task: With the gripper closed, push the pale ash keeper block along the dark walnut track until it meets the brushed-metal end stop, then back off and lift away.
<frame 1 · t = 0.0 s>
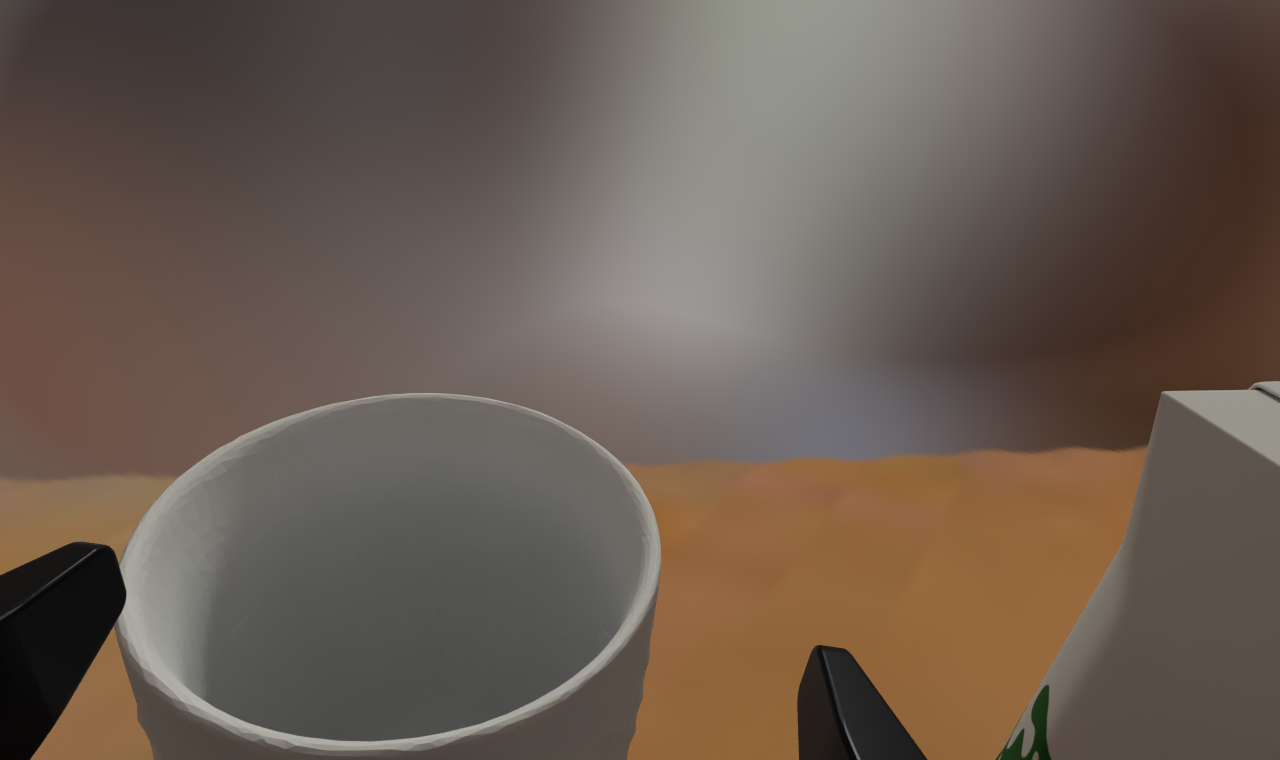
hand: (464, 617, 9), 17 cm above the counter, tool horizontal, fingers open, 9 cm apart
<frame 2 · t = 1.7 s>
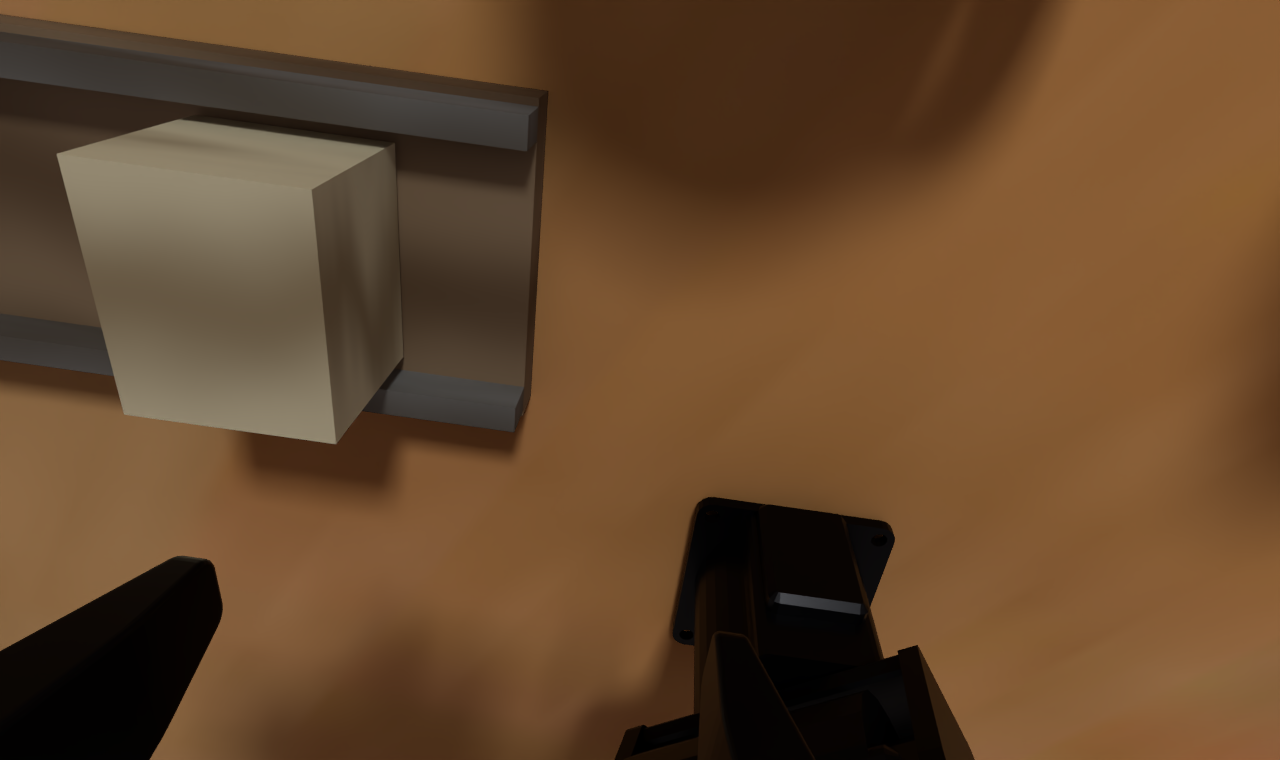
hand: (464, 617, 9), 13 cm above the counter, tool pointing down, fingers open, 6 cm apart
keeper: (263, 274, 18), point 4 cm above the counter, slide at 0.0 cm
track: (117, 200, 21), on the counter
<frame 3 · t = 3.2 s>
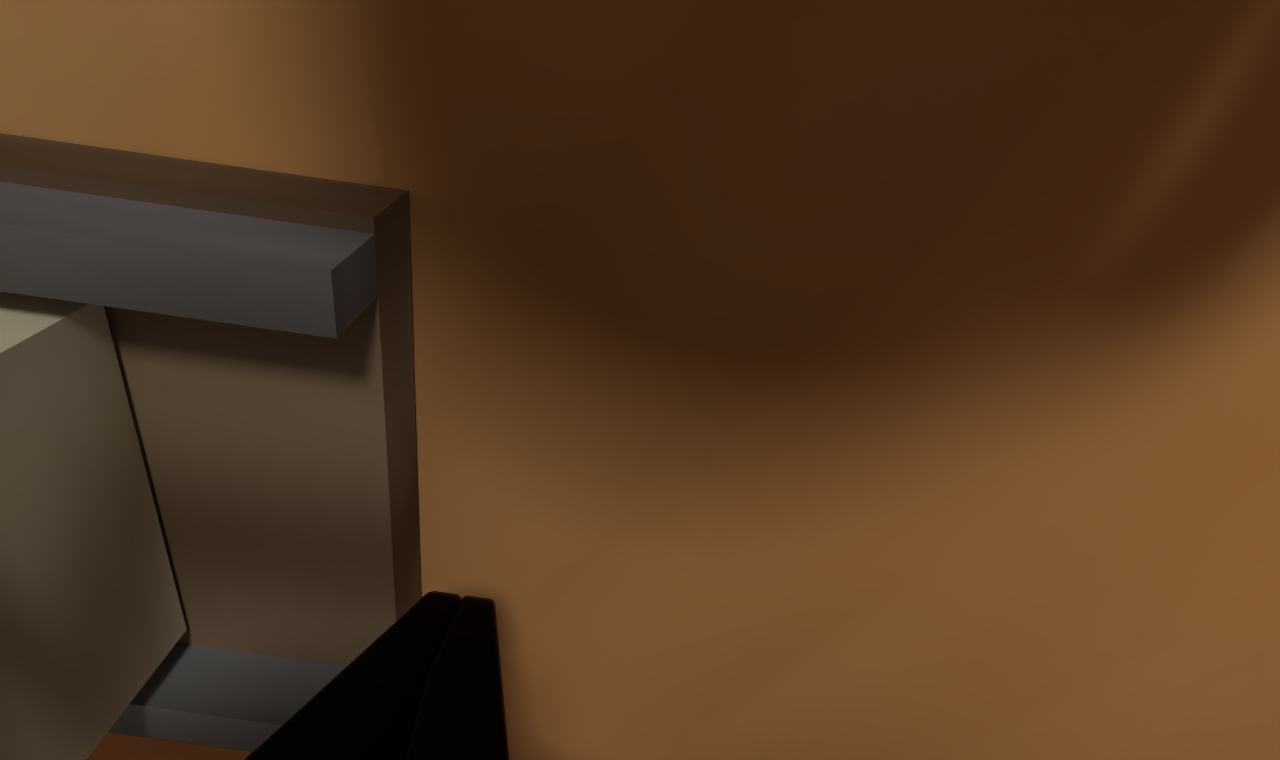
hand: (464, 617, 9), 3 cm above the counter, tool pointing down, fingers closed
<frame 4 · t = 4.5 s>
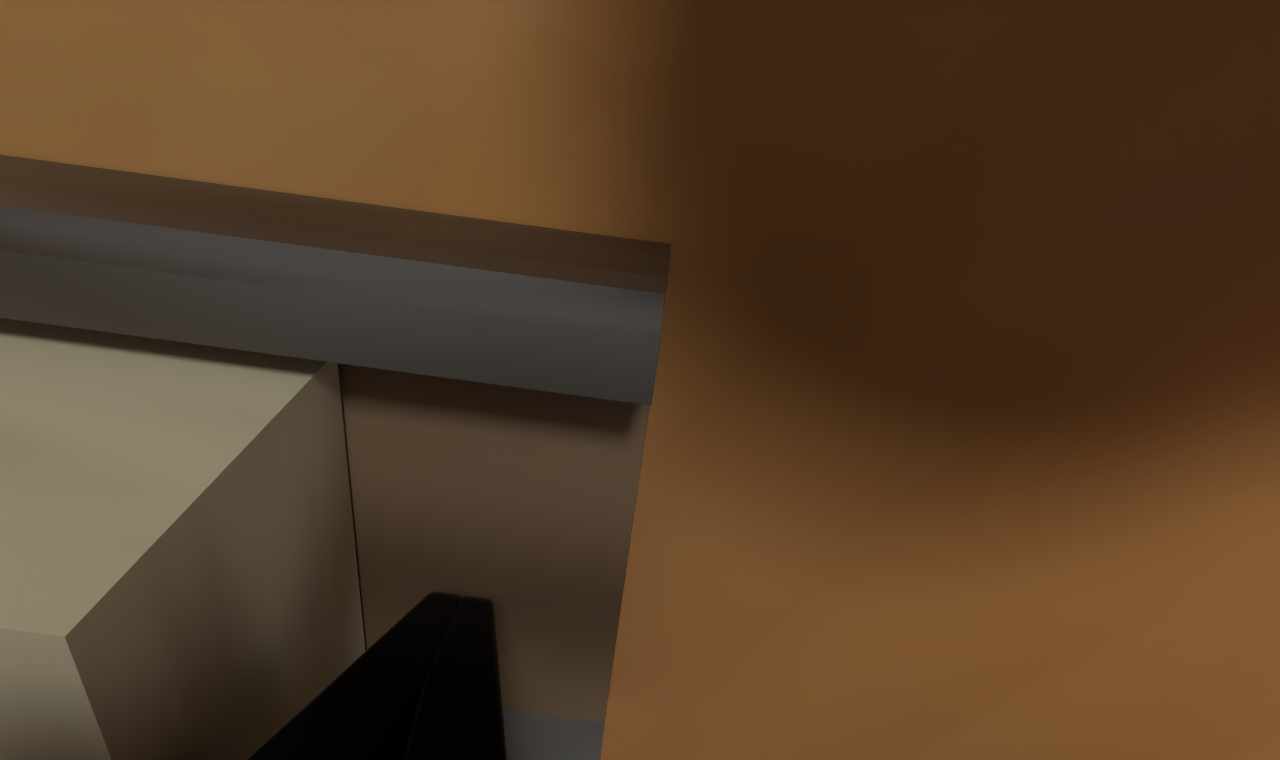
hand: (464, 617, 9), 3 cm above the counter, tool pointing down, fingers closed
keeper: (65, 635, 9), point 4 cm above the counter, slide at 0.4 cm, touching gripper
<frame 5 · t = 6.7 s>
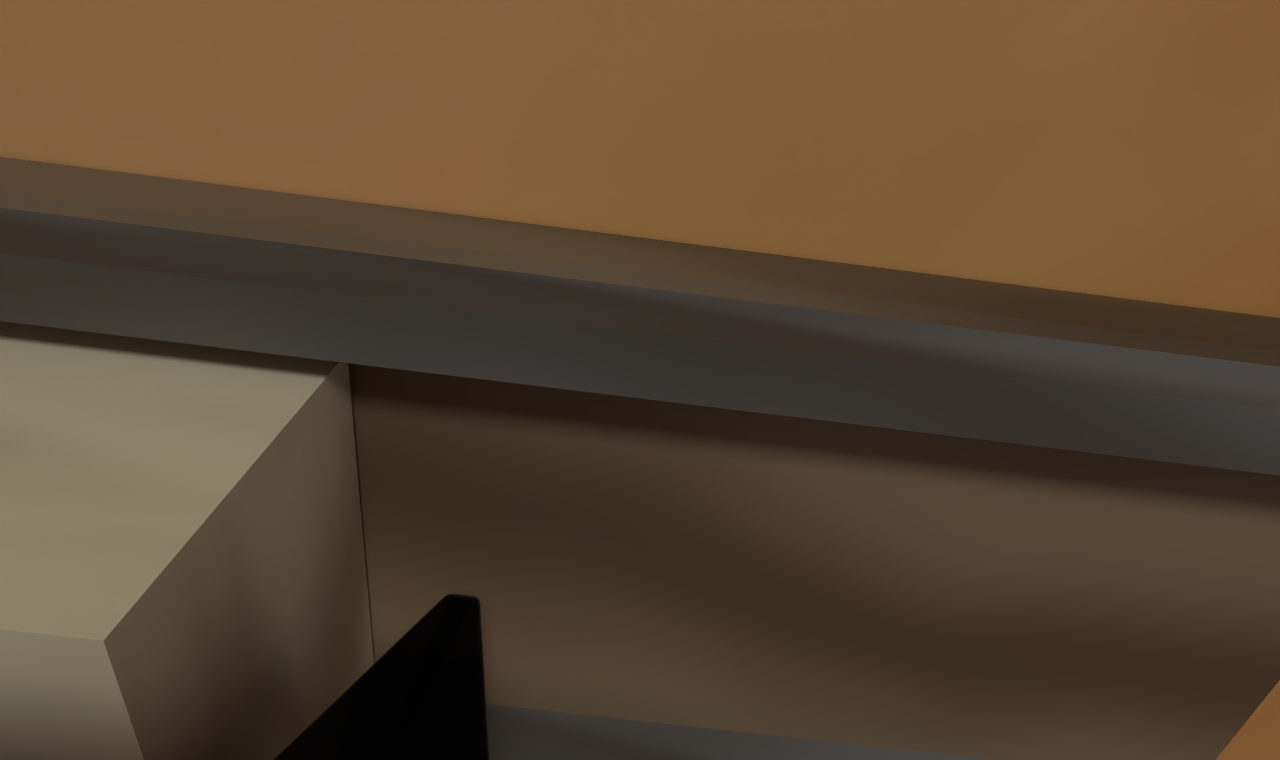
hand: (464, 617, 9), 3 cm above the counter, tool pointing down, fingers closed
keeper: (77, 642, 9), point 4 cm above the counter, slide at 10.6 cm, touching gripper, track
track: (524, 497, 12), on the counter
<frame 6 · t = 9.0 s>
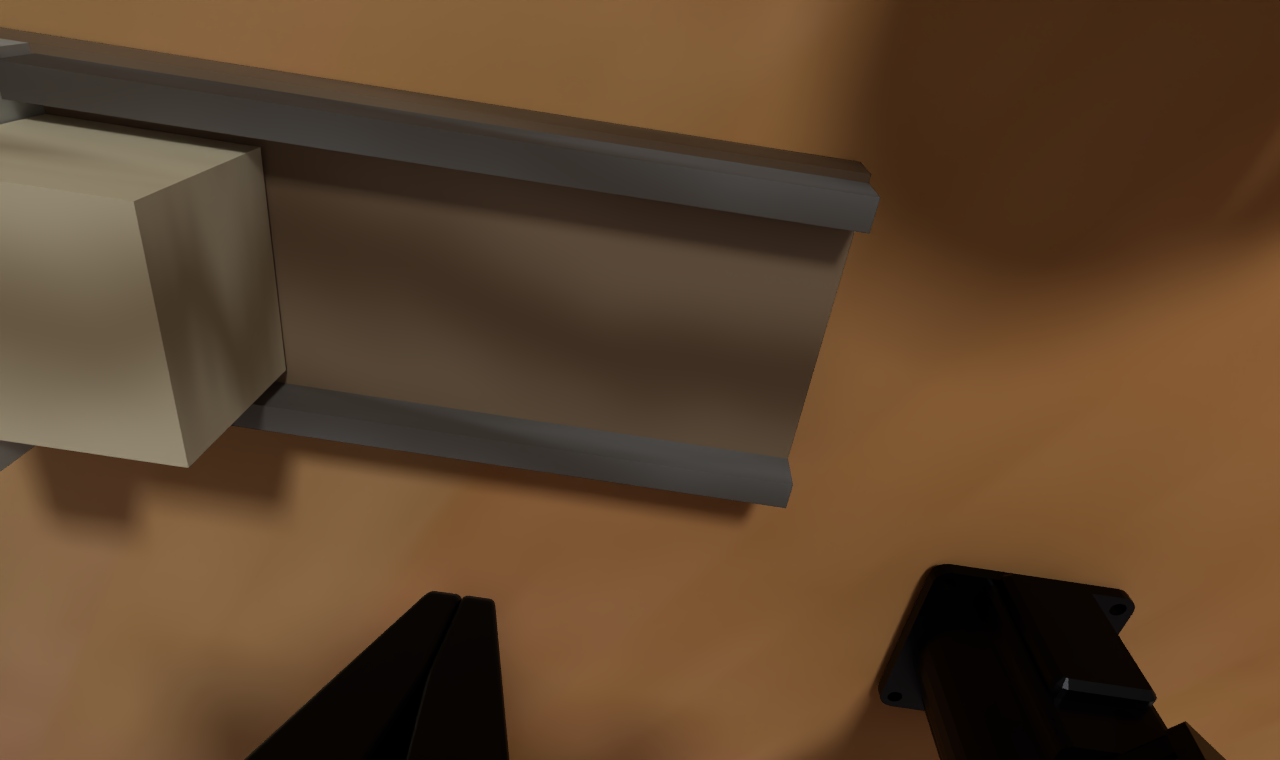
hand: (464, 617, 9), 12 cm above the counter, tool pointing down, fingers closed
keeper: (115, 286, 17), point 4 cm above the counter, slide at 10.5 cm
track: (373, 261, 20), on the counter
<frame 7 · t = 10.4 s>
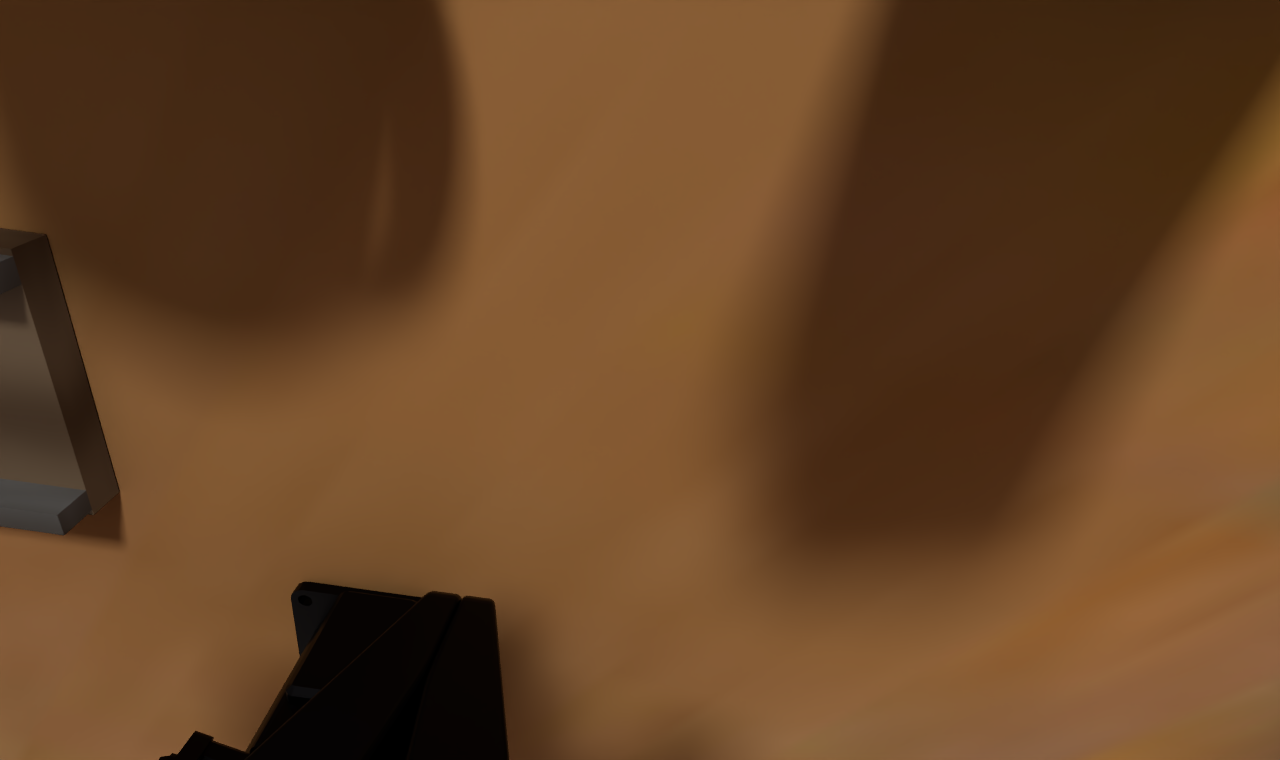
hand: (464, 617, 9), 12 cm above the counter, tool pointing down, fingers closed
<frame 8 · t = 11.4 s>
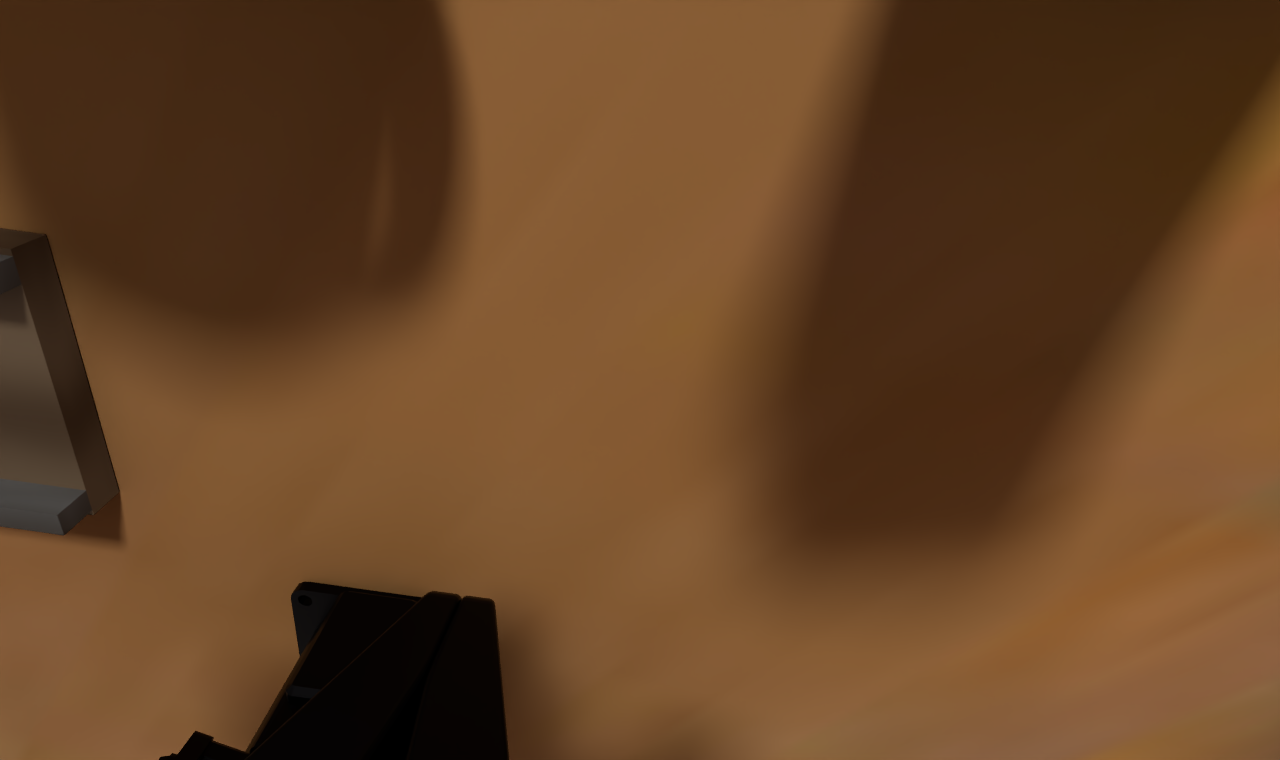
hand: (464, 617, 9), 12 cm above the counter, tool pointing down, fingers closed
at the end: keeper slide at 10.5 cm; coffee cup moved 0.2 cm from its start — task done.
